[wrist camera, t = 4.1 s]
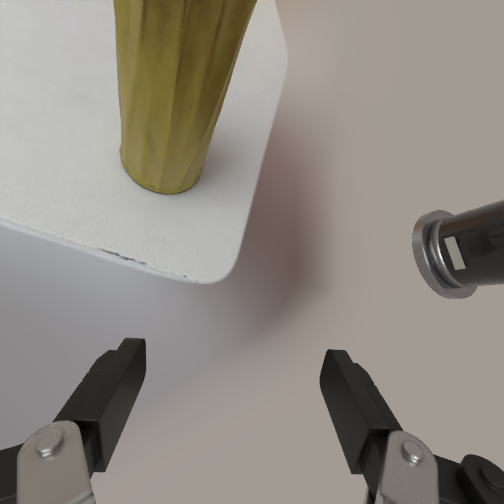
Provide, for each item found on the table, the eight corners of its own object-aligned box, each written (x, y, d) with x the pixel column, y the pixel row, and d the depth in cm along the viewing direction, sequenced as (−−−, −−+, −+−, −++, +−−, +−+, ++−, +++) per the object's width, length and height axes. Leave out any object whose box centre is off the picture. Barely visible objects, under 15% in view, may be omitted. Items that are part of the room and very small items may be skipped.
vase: (120, 191, 18) (73, -89, 6) (119, 118, 19) (80, -252, 7) (203, 197, 21) (302, 13, 8) (198, 132, 22) (278, -119, 9)
